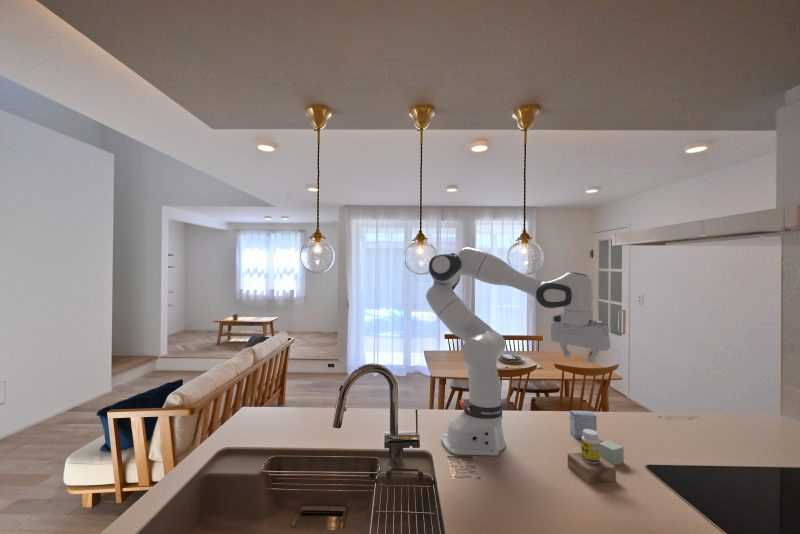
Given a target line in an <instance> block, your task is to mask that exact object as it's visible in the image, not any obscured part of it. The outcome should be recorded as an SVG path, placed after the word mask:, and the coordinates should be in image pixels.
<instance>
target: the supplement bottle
mask: <svg viewBox="0 0 800 534" xmlns="http://www.w3.org/2000/svg"><path fill="white" fill-rule="evenodd" d="M580 439H581V453H582V459H583V460H584V461H586V462H588V463H592V464H596V463H599V461H600V451H599V443H600V440H599V433H598V432H596V431H594V430H590V429H584V430H583V436H582V438H580Z"/></svg>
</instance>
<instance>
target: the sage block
mask: <svg viewBox="0 0 800 534" xmlns="http://www.w3.org/2000/svg"><path fill="white" fill-rule="evenodd" d="M624 449H625V448H624V446H622V445H620V444H617V443H615V442H613V441H610V440H609V439H608V440H604V441H601V442H600V441H599V451H600V457H602V458H603V459H605V460H606V461H608V462H609V463H611V464H612V465H613V466H615V467H616V466H618V465H620V464H624V462H625V461H624V460H625V459H624V457H625V456H624V455H625V454H624V453H625V451H624Z"/></svg>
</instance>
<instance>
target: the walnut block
mask: <svg viewBox="0 0 800 534" xmlns="http://www.w3.org/2000/svg"><path fill="white" fill-rule="evenodd" d="M567 468H569V469H570V470H571V471H572V472H573V473H575V474H576V475H577V476H578V477H579V478H581V479H582V480H583V481H584V482H585V483H586V484H588V485H589V484H599V483H610V482H611V483H612V482H616V481H617V469H616V468H617V467H616V465H615V466H613V465H612V464H611V463H609V462H608V461H606V460H605V459H603V458H602V457H600V461H599V463H596V464H592V463H588V462H586V461H584V460H583V459H582V452H572V453H570V452H569V453H567Z"/></svg>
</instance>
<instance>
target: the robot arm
mask: <svg viewBox="0 0 800 534" xmlns="http://www.w3.org/2000/svg"><path fill="white" fill-rule="evenodd" d="M428 271H429V274H430V277H432V280H433V284H432V286H430V287H429V288H428V290H427V292H426V295H425V298H426V301H427V303H428V305H429V306H430V308H431V309H432V311H433V312H434V313H435V315H436V316H437V318H438V319H439V320H440V321H441V322H442V323H443V324H444V326H446V328H447V329H448V330H449V331H450V333H451V334H452V335H455V336H456V337H458V338H459V339H461V340H462V341H464V344H463V345H462V347H461V356H462V359H463V361H464V363H465V365H466V369H467V370H466V371H467V374H468V376H467V377H468V383H469V384H468V389H469V390H468V399H469V400H468V399H467V402H465V400H463V399H462V400H460V401H459V405H460V406H461V408H463V411H462V412H461V413H460V414H459V415H457V416H456V417H454V418H453V419H452V420H451V421H449V424H448V427H447V432H444V433H442V434H441V437H440V441H441V443H442V446H444V448H445V449H446V451H448V452H449V453H451V454H453V455H461V456H463V455H464V456H466V455H467V456H468V455H469V456H495V457H496V456H499V455H500V453H501V451H503V450H504V449H505V448H506V445H507V444H506V441H505V436H504V431H503V426H502V424H503V423H502V419H503V404H502V400H501V399H502V397H501V396H502V395H501V394H502V391H501V389H502V388H501V387H502V384H501V383H502V381H501V379H500V377H499V371H498V366H497V361H498V359H500V358H501V357H502V356H503V354H504V353H505V350H506V340H505V338H504V337H503V336H502V334H501V333H499V332H497V331H496V330H494V329H493V328H492V327H491V326H490V325H488V324H487V323H486V322H485V321H484V320H482V319H481V318H480V317H479V316H478V315H476V314H475V313H474V312H473V311H472V309H470V308H469V307H468V306H467V305H466V303H465V302H464V301H463V300H462V299H461V298H460V297H459V295H457V294H456V293H455V291H454V290H455V289H456V287H457V286H458V284H459V282H460V280H461V279H460V278H461V276H469V277H472V278H474V279H476V280H478V281H480V282H483V283H487V284H490V285H494V286H505V287H511V288H513V289H514V288H515V289H517V290H519V291H521V292H524V293H526V294H529V295H530V296H532V297H534V298H535V299H536V301H537V303H539V305H540V306H542V307H544V308H546V309H550V310H551V309H556V308H561V307H562V308H563V313H560V314H555V315H552V316H551V322H552V323H551V326H550V340H552V342H553V343H558V344H560V345H559V346H560V348H561V350H562V353H563V354H562V355H563V357H567V358H569V357H570V356H571V351H569V350H568V348H567V347H568V345H569V346H576V347H580V348H585V349H590V352H591V354H590V355H589V356H587V361H588V363H596V357H597V356H598V354H599V353H600V352H601V351H602V352H606V351H608V350H610V348H611V341H610V335H609V333H610V332H609V330H610V329H609V326H608V325H607V323H605V322H604V321H597V320H594V314H593V313H594V310H593V307H592V302H593V285H592V279H591V278H590V277H589V276H588V275H587V274H585V273H580V272H572V271H568V272H566V273H565V274H563V275H561V276H560V277H557V278H555V279H551V280H549V281H547V280H546V281H543V280H542V281H541V280H538V279H536V278H534V277H531V276H529V275H526V274H524V273H522V272H519V271H517V270H516V269H515V268H513V267H512V266H511V265H510V264H508V263H507V262H506V261H505V260H502V259H501V258H500V257H498V256H496V255H495V254H494V255H493V254H491V253H490V252H487V251H485V250H484V251H483V250H481V249H477V248H473V247H463V248H461V249H459V251H458V252H457V253H455V252H451V253H438V254H436V255H434V256H433V257H431V259H430V260H429V264H428Z"/></svg>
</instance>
